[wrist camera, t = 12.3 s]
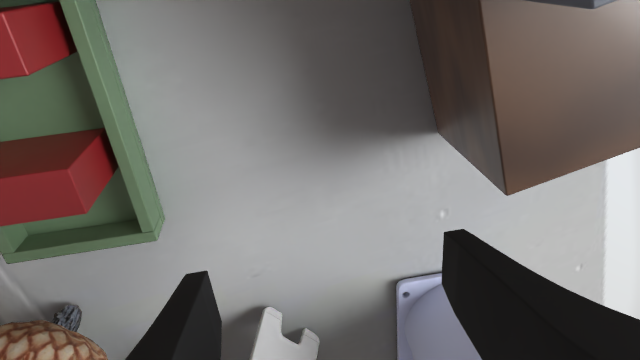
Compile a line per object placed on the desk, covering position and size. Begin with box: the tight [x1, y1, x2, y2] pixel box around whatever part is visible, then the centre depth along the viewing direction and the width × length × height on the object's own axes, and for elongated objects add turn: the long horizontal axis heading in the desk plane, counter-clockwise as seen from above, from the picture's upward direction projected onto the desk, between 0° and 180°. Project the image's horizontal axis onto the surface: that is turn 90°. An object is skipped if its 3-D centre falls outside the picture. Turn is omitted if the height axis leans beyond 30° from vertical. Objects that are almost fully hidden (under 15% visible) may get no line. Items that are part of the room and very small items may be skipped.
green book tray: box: [0, 0, 165, 264], centre depth 18 cm, size 15×7×2 cm, turn 6°
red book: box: [0, 128, 119, 227], centre depth 18 cm, size 2×5×4 cm, turn 96°
